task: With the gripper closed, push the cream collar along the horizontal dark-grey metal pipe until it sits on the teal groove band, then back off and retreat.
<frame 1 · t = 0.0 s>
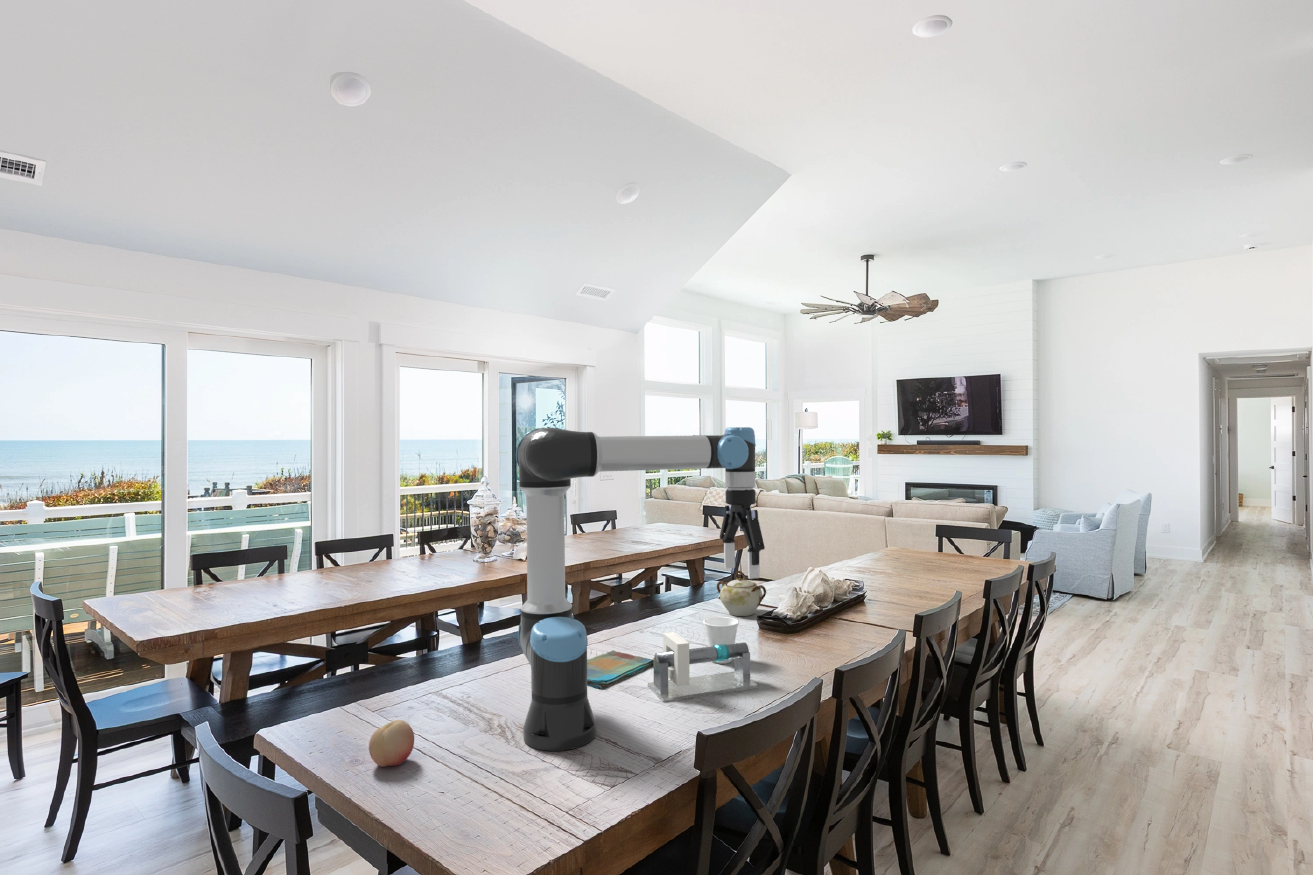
hand: (741, 573, 176), 28 cm above the table, fingers open, 13 cm apart
dish towel: (606, 673, 188), on the table
fruit: (392, 764, 135), on the table
cup: (721, 661, 195), on the table
collar: (675, 658, 172), point 8 cm above the table, slide at 0.0 cm
sugar bowl: (741, 613, 246), on the table
pipe rig: (702, 687, 174), on the table
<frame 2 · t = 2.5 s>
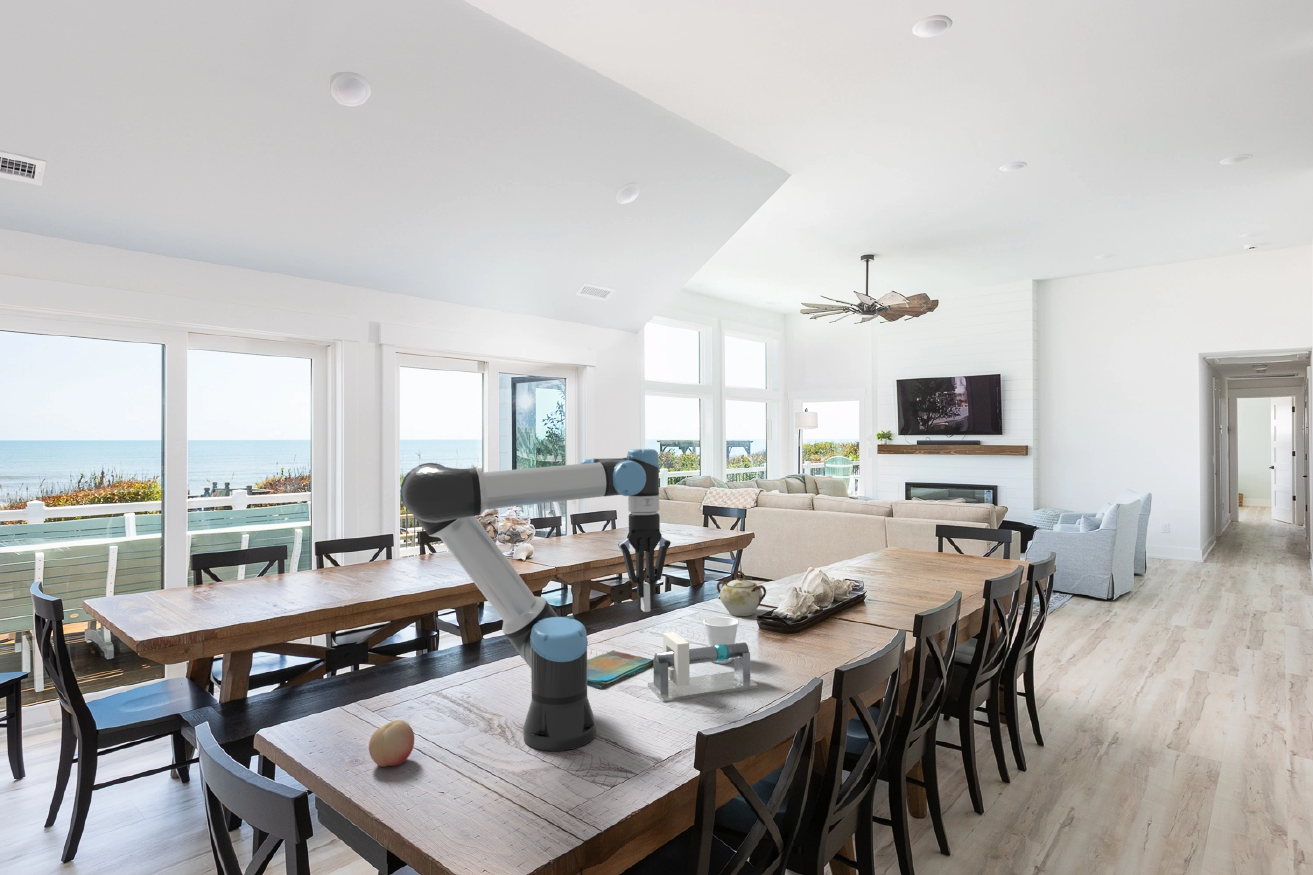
hand: (645, 610, 169), 21 cm above the table, fingers closed
nothing on the table moved.
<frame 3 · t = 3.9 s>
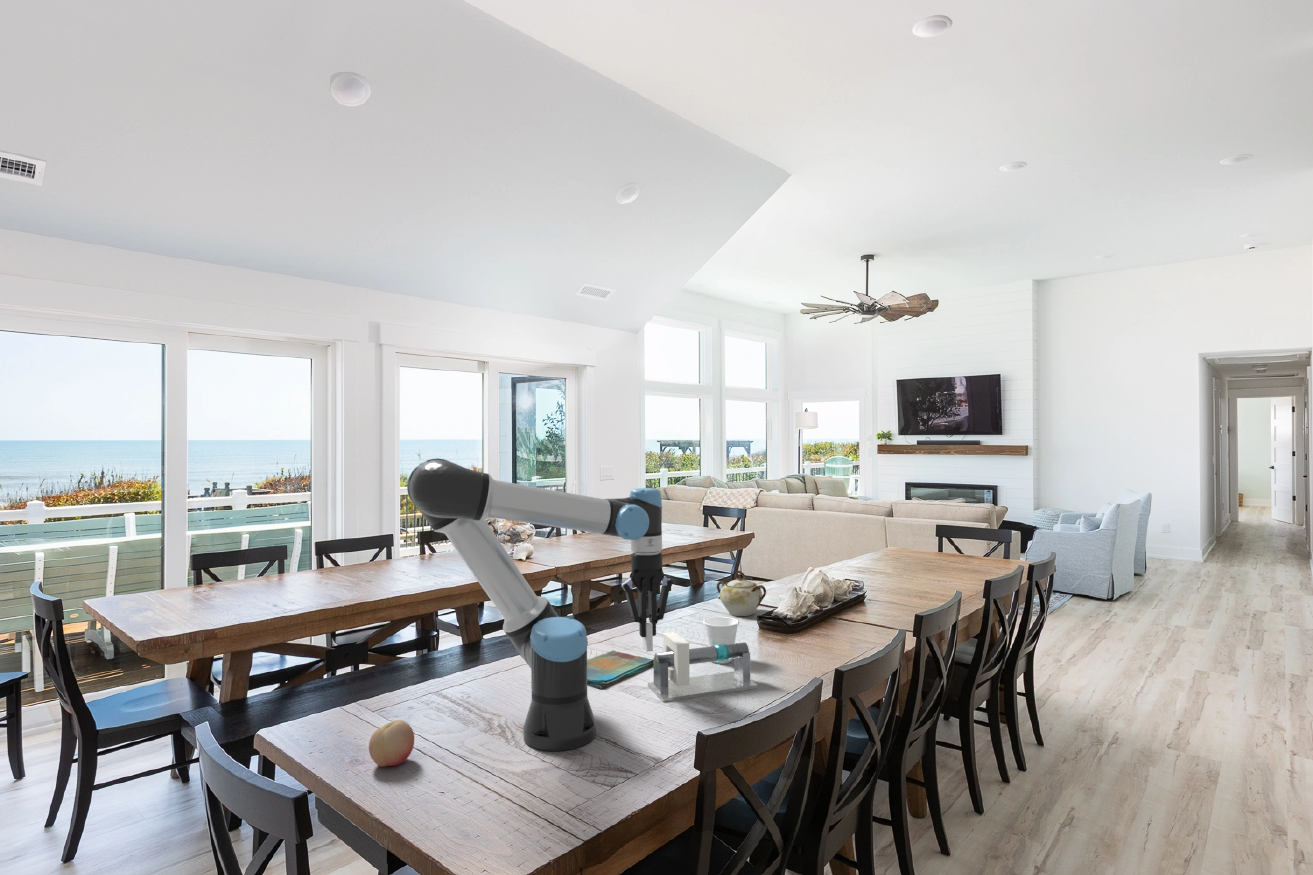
hand: (648, 649, 170), 11 cm above the table, fingers closed
nothing on the table moved.
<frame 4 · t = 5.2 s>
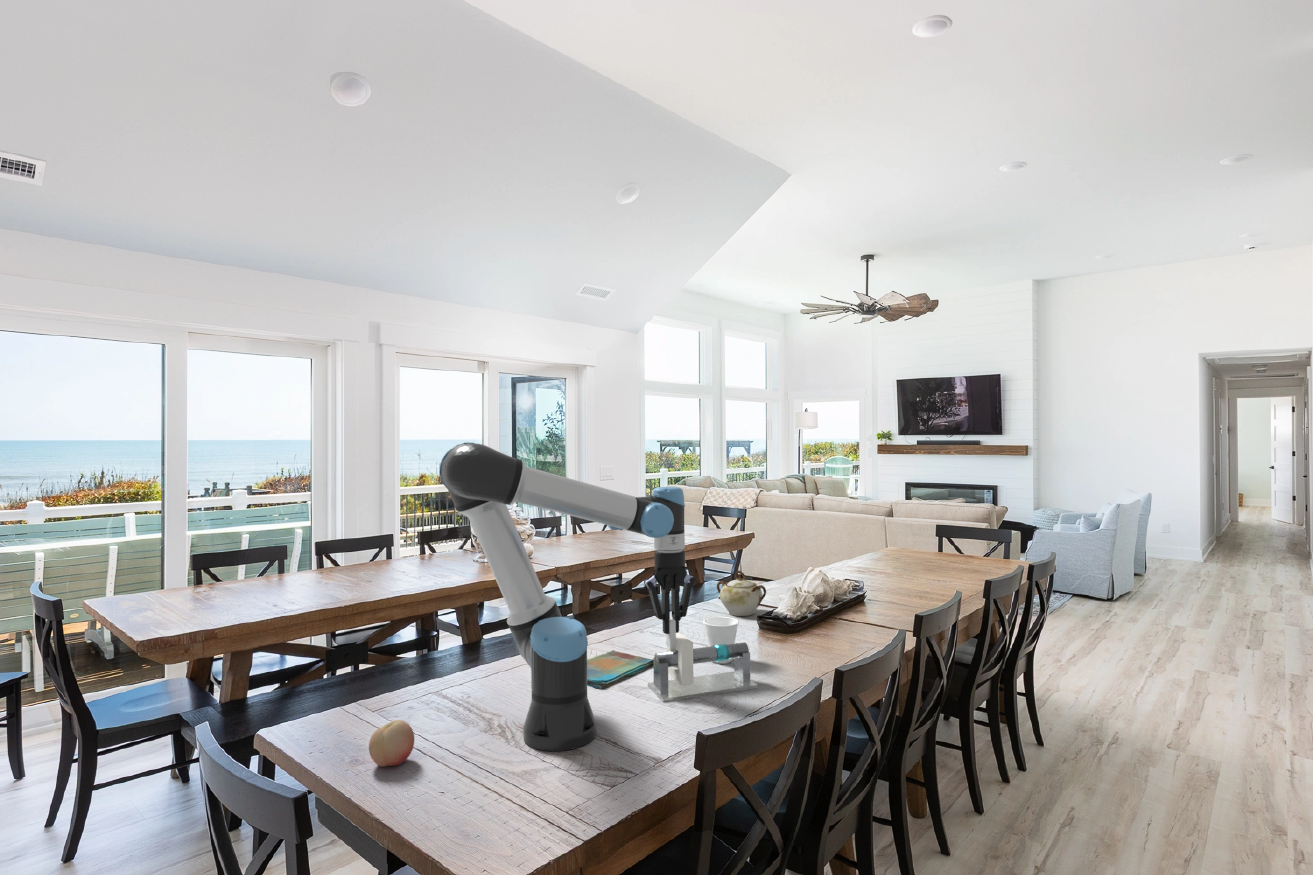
hand: (671, 646, 172), 11 cm above the table, fingers closed
collar: (679, 657, 172), point 8 cm above the table, slide at 1.0 cm, touching gripper
everything else where it was.
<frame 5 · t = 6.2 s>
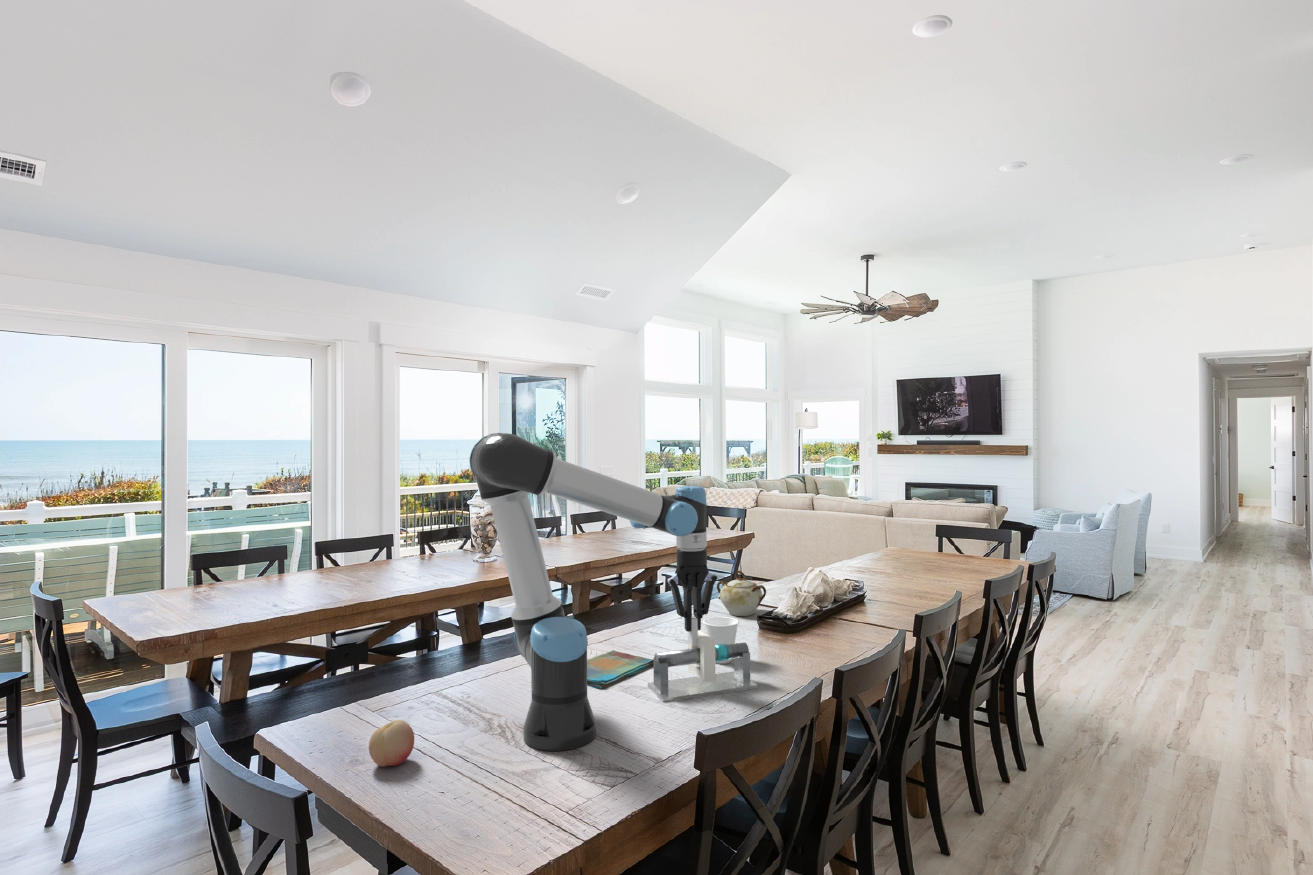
hand: (693, 643, 173), 11 cm above the table, fingers closed
collar: (701, 655, 174), point 8 cm above the table, slide at 6.8 cm, touching gripper
everything else where it was.
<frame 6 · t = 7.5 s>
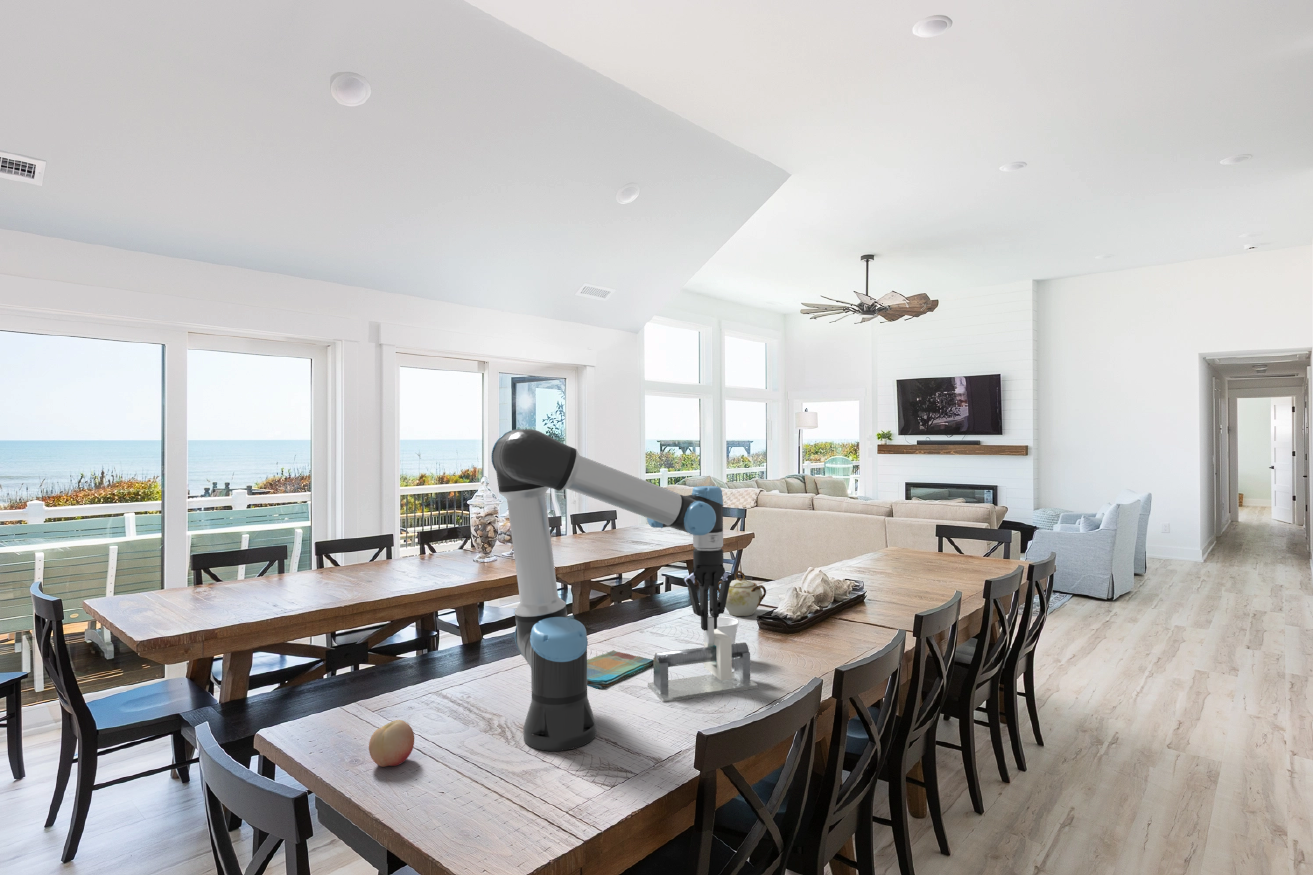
hand: (709, 642, 175), 11 cm above the table, fingers closed
collar: (717, 653, 176), point 8 cm above the table, slide at 11.2 cm, touching gripper
everything else where it was.
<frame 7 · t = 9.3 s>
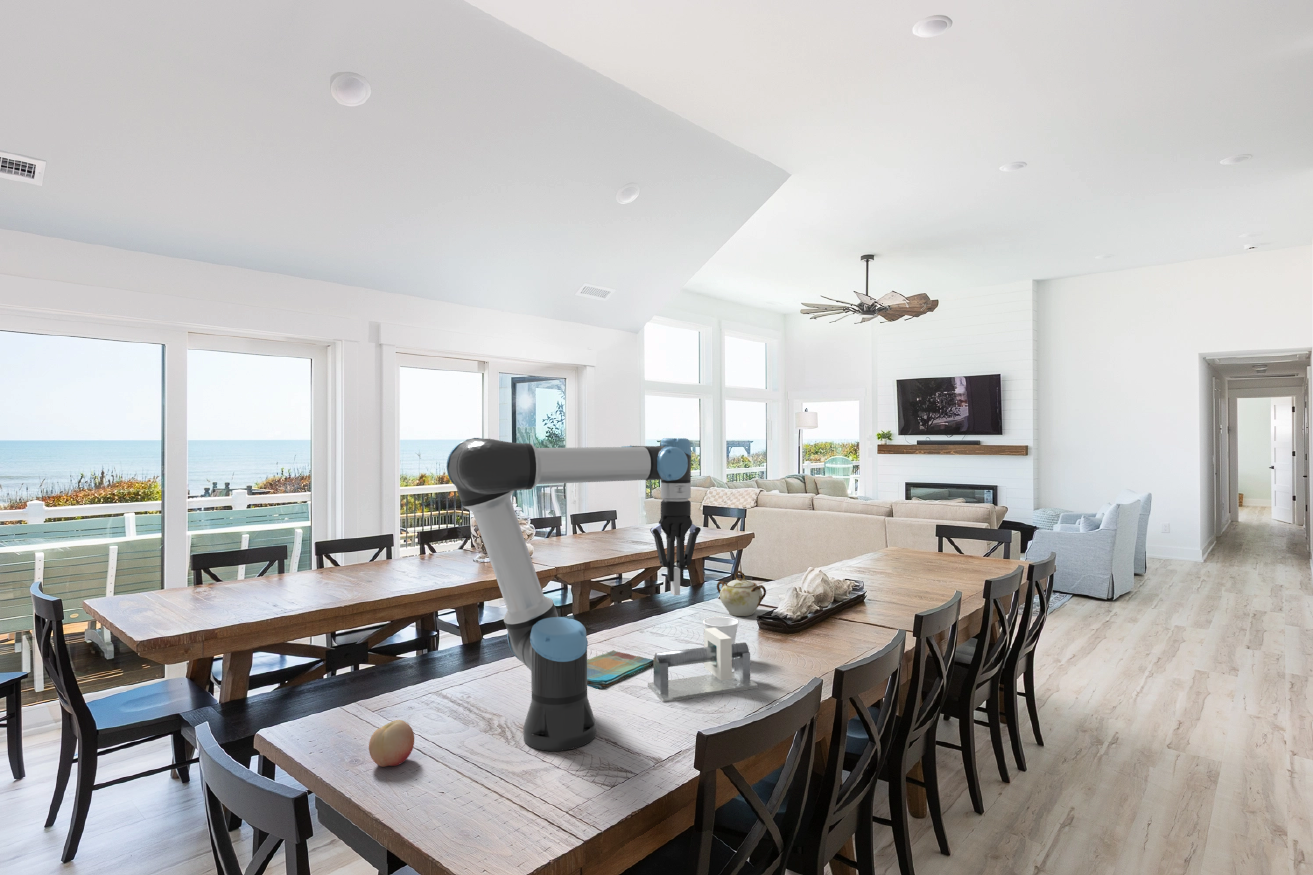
hand: (675, 593, 175), 23 cm above the table, fingers closed
collar: (717, 653, 176), point 8 cm above the table, slide at 11.2 cm
everything else where it was.
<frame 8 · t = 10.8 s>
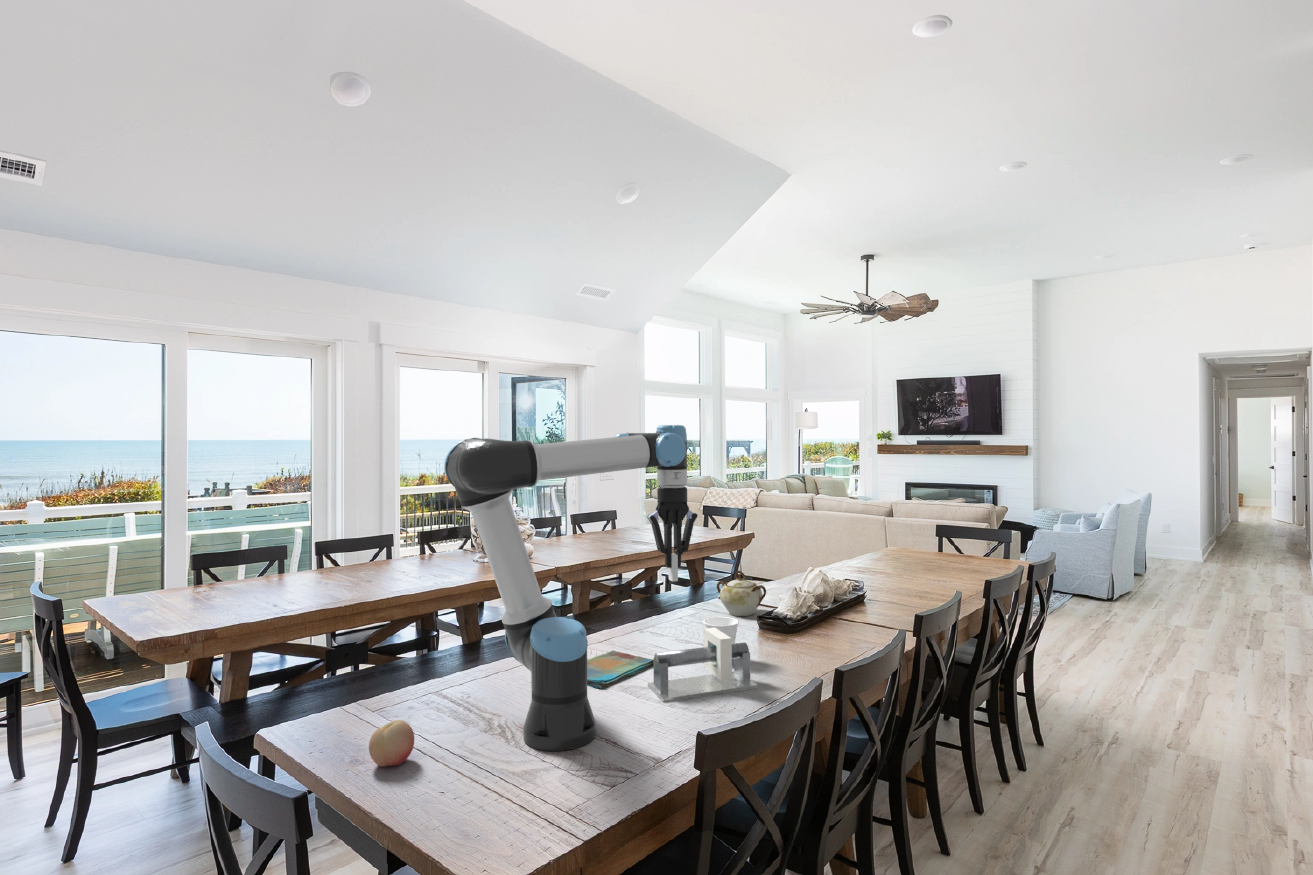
hand: (673, 580, 176), 26 cm above the table, fingers closed
nothing on the table moved.
at the end: collar slide at 11.2 cm; the gripper is holding nothing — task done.
